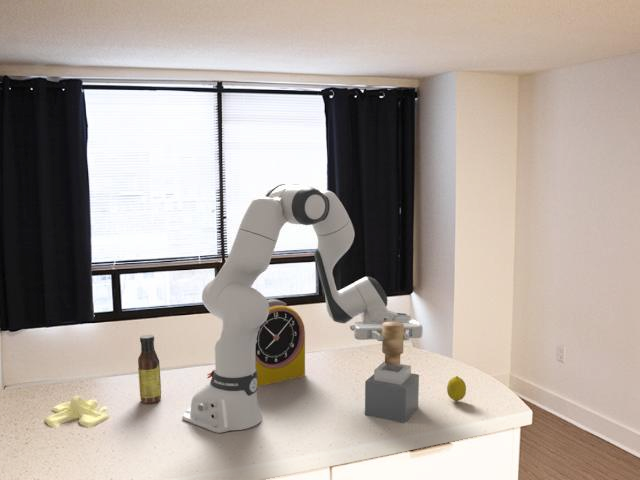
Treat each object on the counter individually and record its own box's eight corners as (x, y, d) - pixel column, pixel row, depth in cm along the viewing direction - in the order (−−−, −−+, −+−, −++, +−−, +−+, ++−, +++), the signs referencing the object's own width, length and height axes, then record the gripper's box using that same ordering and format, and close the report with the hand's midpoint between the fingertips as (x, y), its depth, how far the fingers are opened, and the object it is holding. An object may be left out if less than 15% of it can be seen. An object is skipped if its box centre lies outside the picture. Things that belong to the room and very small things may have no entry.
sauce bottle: (165, 400, 186) (163, 336, 183) (147, 406, 181) (144, 341, 179) (153, 394, 190) (151, 332, 188) (135, 400, 186) (132, 336, 183)
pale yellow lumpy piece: (108, 428, 168) (107, 407, 167) (36, 434, 165) (34, 412, 164) (119, 397, 190) (118, 378, 189) (54, 401, 186) (53, 382, 185)
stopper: (378, 364, 175) (379, 325, 173) (386, 357, 180) (387, 320, 179) (398, 367, 172) (399, 328, 171) (405, 361, 178) (406, 323, 176)
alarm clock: (249, 388, 196) (248, 307, 192) (237, 379, 203) (236, 301, 200) (306, 375, 207) (305, 298, 203) (292, 367, 215) (291, 293, 211)
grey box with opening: (364, 414, 176) (365, 371, 174) (379, 400, 186) (380, 358, 184) (405, 423, 170) (406, 378, 169) (418, 407, 181) (419, 364, 179)
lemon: (465, 406, 182) (466, 380, 181) (446, 404, 183) (447, 378, 182) (465, 399, 187) (466, 373, 186) (446, 397, 188) (447, 372, 187)
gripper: (349, 315, 186) (358, 328, 173) (414, 313, 189) (428, 326, 175) (348, 335, 187) (357, 350, 173) (414, 333, 190) (427, 347, 176)
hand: (393, 338), depth 174 cm, fingers closed on stopper, 6 cm apart
